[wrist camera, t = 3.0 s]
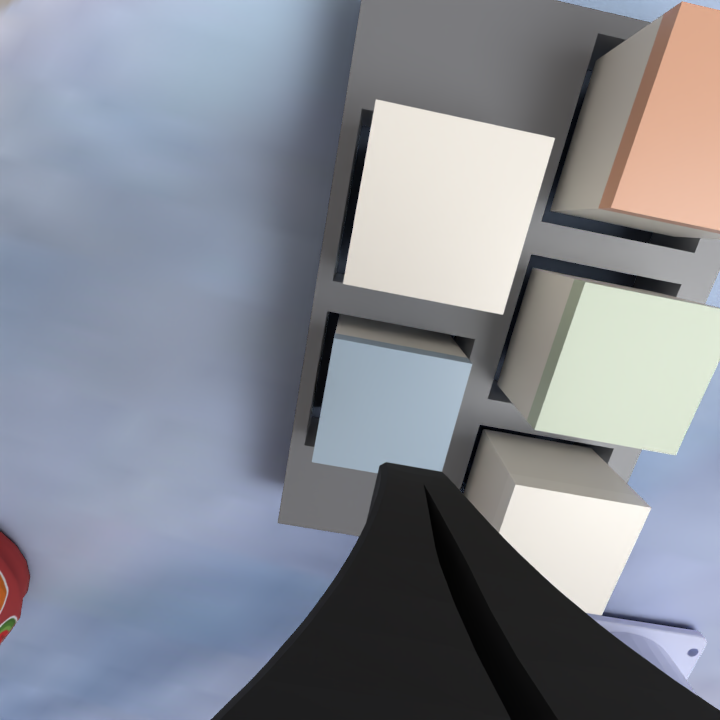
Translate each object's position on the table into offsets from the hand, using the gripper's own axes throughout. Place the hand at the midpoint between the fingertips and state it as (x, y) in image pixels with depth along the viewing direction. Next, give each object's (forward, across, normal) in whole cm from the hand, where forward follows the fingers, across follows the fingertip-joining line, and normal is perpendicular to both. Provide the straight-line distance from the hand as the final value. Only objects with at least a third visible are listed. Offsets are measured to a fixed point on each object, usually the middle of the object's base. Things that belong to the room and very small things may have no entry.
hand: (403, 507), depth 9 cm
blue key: (+8, 0, 0) cm, 8 cm away
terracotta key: (+7, -6, -9) cm, 13 cm away
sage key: (+7, -6, -3) cm, 10 cm away
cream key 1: (+7, 0, -6) cm, 9 cm away
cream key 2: (+7, -6, +3) cm, 9 cm away
